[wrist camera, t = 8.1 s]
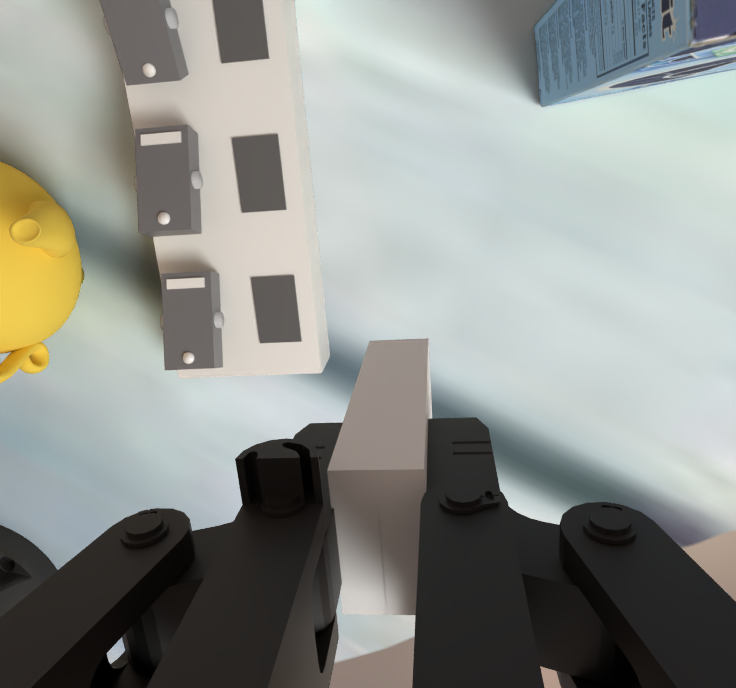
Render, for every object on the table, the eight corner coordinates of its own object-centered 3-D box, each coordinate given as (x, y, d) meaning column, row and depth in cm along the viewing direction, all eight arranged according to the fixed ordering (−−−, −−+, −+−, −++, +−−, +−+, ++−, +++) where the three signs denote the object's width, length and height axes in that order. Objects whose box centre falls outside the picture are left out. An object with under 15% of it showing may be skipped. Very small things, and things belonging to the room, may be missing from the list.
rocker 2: (146, 237, 37) (132, 232, 35) (142, 138, 37) (128, 128, 35) (206, 233, 36) (195, 228, 35) (202, 133, 36) (191, 123, 35)
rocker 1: (131, 79, 36) (120, 86, 35) (94, -40, 32) (80, -38, 31) (193, 73, 35) (184, 80, 34) (162, -49, 32) (151, -46, 31)
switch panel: (195, 360, 45) (171, 383, 41) (126, -39, 37) (88, -62, 33) (330, 355, 44) (319, 377, 40) (288, -59, 36) (269, -86, 32)
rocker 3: (170, 369, 39) (159, 370, 38) (167, 276, 39) (155, 273, 38) (227, 367, 39) (218, 368, 37) (223, 273, 39) (214, 270, 37)
